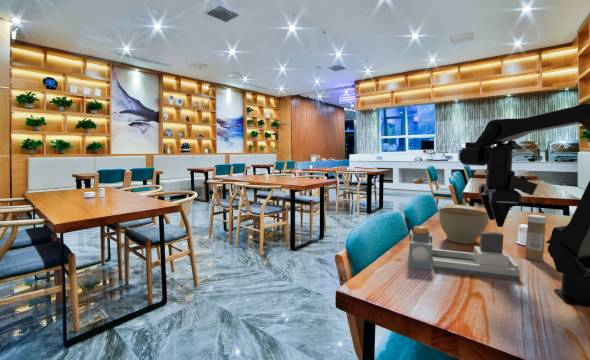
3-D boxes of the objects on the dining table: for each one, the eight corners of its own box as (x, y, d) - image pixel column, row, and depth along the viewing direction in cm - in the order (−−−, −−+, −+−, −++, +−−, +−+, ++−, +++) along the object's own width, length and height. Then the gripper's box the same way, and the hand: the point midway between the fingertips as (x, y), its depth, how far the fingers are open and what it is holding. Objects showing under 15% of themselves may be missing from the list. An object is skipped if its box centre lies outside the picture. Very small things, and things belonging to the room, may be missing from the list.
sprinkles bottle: (545, 259, 95) (549, 216, 93) (539, 262, 92) (543, 217, 91) (528, 255, 98) (531, 213, 97) (521, 258, 96) (525, 215, 95)
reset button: (428, 236, 90) (428, 229, 90) (413, 235, 91) (413, 228, 91) (427, 233, 93) (428, 226, 93) (413, 232, 95) (413, 225, 95)
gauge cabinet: (431, 270, 86) (432, 239, 85) (408, 267, 88) (409, 237, 87) (429, 256, 98) (431, 229, 97) (409, 253, 100) (410, 227, 99)
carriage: (508, 271, 82) (510, 237, 81) (477, 267, 84) (479, 235, 84) (501, 262, 88) (503, 231, 88) (473, 259, 91) (474, 229, 90)
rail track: (519, 281, 79) (520, 268, 79) (433, 269, 86) (434, 258, 86) (506, 264, 90) (507, 253, 90) (431, 256, 97) (432, 245, 97)
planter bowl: (472, 250, 104) (474, 218, 103) (428, 238, 117) (429, 210, 116) (495, 242, 112) (497, 212, 111) (452, 232, 126) (453, 206, 125)
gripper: (549, 168, 73) (544, 234, 74) (523, 165, 90) (519, 218, 92) (494, 168, 77) (490, 230, 78) (479, 165, 94) (476, 215, 96)
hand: (495, 223), depth 86 cm, fingers open, 9 cm apart
